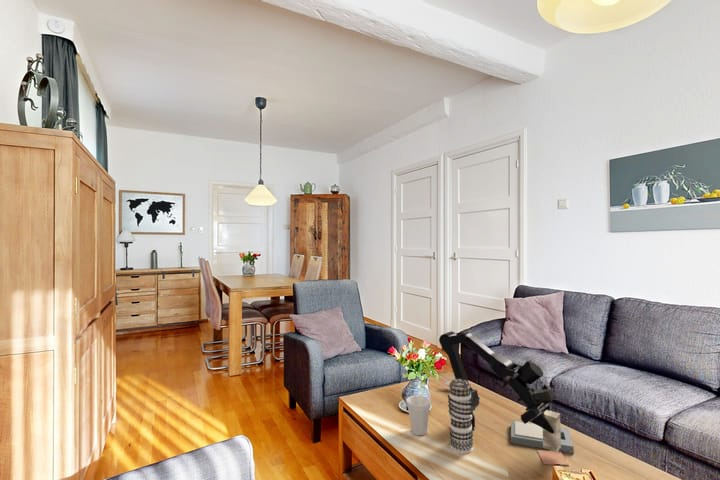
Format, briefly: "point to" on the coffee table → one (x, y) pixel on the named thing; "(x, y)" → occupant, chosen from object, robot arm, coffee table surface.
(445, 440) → the coffee table surface
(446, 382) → the rabbit figure
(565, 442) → the puzzle board
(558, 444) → the block
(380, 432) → the coffee table surface
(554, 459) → the pad
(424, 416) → the cup
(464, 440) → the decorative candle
